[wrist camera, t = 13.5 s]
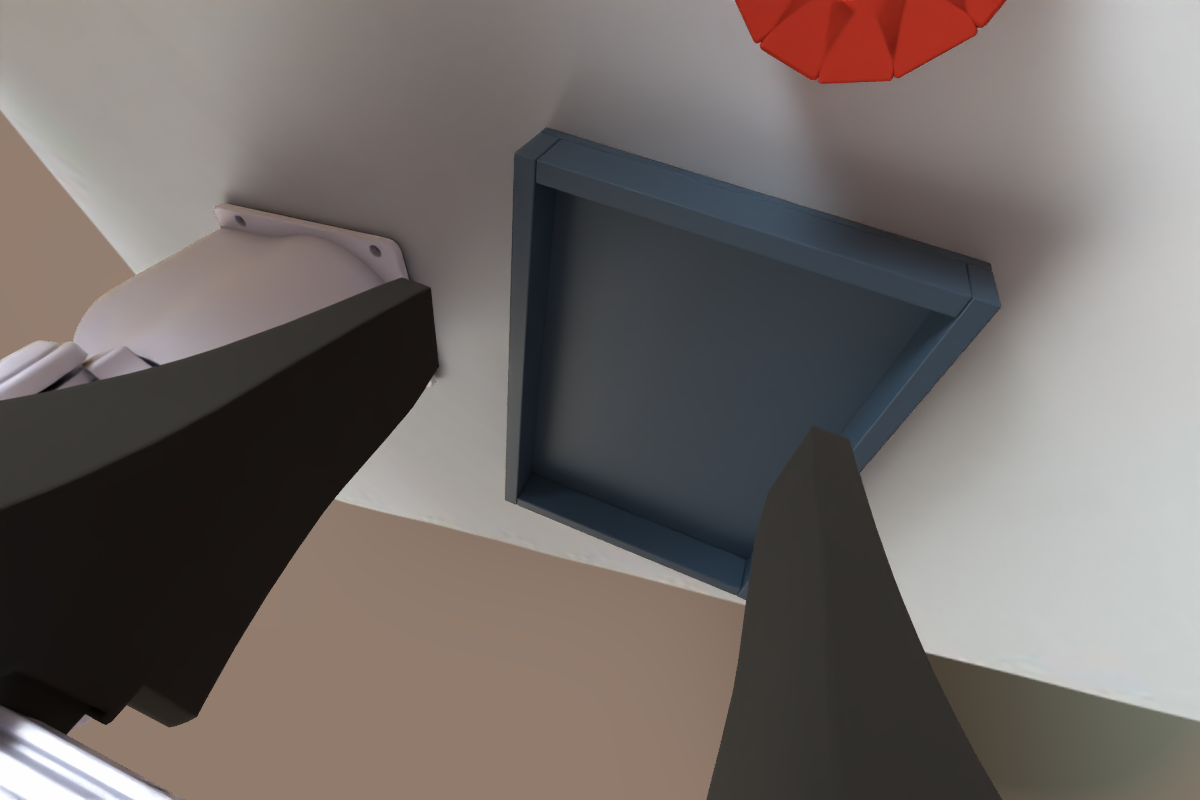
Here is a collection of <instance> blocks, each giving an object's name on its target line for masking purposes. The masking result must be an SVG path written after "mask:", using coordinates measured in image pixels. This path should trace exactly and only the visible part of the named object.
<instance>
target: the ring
mask: <svg viewBox="0 0 1200 800" xmlns="http://www.w3.org/2000/svg"><path fill="white" fill-rule="evenodd" d="M735 2H736V4H737V6H738V8H739V11H740V13H741V15H742V17H743V19H744V21H745V23H746V26H747V28H748V30H749V32H750V34H751V36H752V38H753V41H754V42H755V43H760V42H761V43H760V48H761V49H762V50H763V51H765V52H766V53H768V54H769V55H771V56H773V57H774V58H776V59H778V60H779V61H781V62H782V63H784V64H786V65H787V66H789V67H791V68H792V69H794V70H796V71H797V72H799V73H800V74H802V75H804V76H805V77H807V78H809V79H810V80H816V79H817V78H819V79H818V82H819V83H820V84H828V83H852V82H876V81H891V80H892V79H893V76H895V78H900V77H902V76H904V75H905V74H907V73H909V72H911V71H913V70H914V69H916V68H918V67H920V66H922V65H923V64H925V63H927V62H929V61H931V60H932V59H934V58H936V57H938V56H939V55H941V54H943V53H945V52H947V51H948V50H950V49H952V48H954V47H956V46H957V45H959V44H961V43H963V42H965V41H966V40H968V39H970V38H972V37H974V36H975V35H976V34H977V32H978V30H977V28H982V27H984V26H985V25H987V23H988V22H989V21H990V20H991V19H992V17H993V16H994V15H995V14H996V13H997V11H998V10H999V9H1000V8H1001V6H1002V5H1003V4H1004V3H1005V2H1006V0H735Z"/></svg>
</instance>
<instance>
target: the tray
mask: <svg viewBox="0 0 1200 800" xmlns="http://www.w3.org/2000/svg"><path fill="white" fill-rule="evenodd" d="M1000 308H1001V303H1000V299H999V295H998V292H997V288H996V284H995V280H994V276H993V272H992V268H991V264H990V263H987V262H983V261H980V260H977V259H974V258H970V257H967V256H964V255H961V254H957V253H954V252H951V251H948V250H944V249H941V248H938V247H934V246H931V245H928V244H925V243H921V242H918V241H915V240H912V239H908V238H905V237H902V236H899V235H895V234H892V233H889V232H885V231H882V230H879V229H876V228H872V227H869V226H866V225H863V224H859V223H856V222H853V221H849V220H846V219H843V218H840V217H836V216H833V215H830V214H827V213H823V212H820V211H817V210H814V209H810V208H807V207H804V206H800V205H797V204H794V203H791V202H787V201H784V200H781V199H778V198H774V197H771V196H768V195H765V194H761V193H758V192H755V191H751V190H748V189H745V188H742V187H738V186H735V185H732V184H729V183H725V182H722V181H719V180H715V179H712V178H709V177H706V176H702V175H699V174H696V173H693V172H689V171H686V170H683V169H680V168H676V167H673V166H670V165H666V164H663V163H660V162H657V161H653V160H650V159H647V158H644V157H640V156H637V155H634V154H631V153H627V152H624V151H621V150H617V149H614V148H611V147H608V146H604V145H601V144H598V143H595V142H591V141H588V140H585V139H582V138H578V137H575V136H572V135H568V134H565V133H562V132H559V131H555V130H552V129H549V128H545V129H543V130H542V131H541V133H539V134H538V135H536V136H535V137H534V138H533V139H531V140H530V141H529V142H528V143H526V144H525V145H524V146H523V147H521V148H520V149H519V150H518V151H516V152H515V154H514V185H513V222H512V259H511V297H510V334H509V371H508V408H507V445H506V483H505V500H506V501H509V502H511V503H513V504H517V505H518V506H521V507H523V508H526V509H528V510H531V511H533V512H535V513H538V514H540V515H543V516H545V517H547V518H550V519H552V520H555V521H557V522H560V523H562V524H564V525H567V526H569V527H572V528H574V529H576V530H579V531H581V532H584V533H586V534H589V535H591V536H593V537H596V538H598V539H601V540H603V541H605V542H608V543H610V544H613V545H615V546H618V547H620V548H622V549H625V550H627V551H630V552H632V553H634V554H637V555H639V556H642V557H644V558H647V559H649V560H651V561H654V562H656V563H659V564H661V565H664V566H666V567H668V568H671V569H673V570H676V571H678V572H680V573H683V574H685V575H688V576H690V577H693V578H695V579H697V580H700V581H702V582H705V583H707V584H709V585H712V586H714V587H717V588H719V589H722V590H724V591H726V592H729V593H731V594H734V595H737V596H738V597H740V598H743V599H745V600H746V599H747V591H748V584H749V577H750V570H751V562H752V555H753V548H754V543H755V539H756V535H757V531H758V527H759V523H760V519H761V515H762V512H763V508H764V504H765V501H766V497H767V493H768V492H769V490H770V489H771V487H772V486H773V484H774V483H775V481H776V480H777V478H778V477H779V475H780V474H781V472H782V471H783V469H784V468H785V466H786V465H787V463H788V462H789V460H790V459H791V457H792V456H793V454H794V453H795V451H796V450H797V448H798V447H799V445H800V444H801V442H802V441H803V439H804V438H805V436H806V435H807V433H808V432H809V430H810V429H811V427H812V426H815V427H817V428H820V429H823V430H826V431H828V432H831V433H834V434H837V435H840V436H842V437H845V438H848V439H849V440H850V443H851V445H852V448H853V452H854V455H855V459H856V462H857V466H858V469H859V473H860V472H861V471H862V469H863V468H864V467H865V466H866V465H867V464H868V462H869V461H870V460H871V459H872V458H873V457H874V455H875V454H876V453H877V452H878V451H879V450H880V448H881V447H882V446H883V445H884V444H885V443H886V441H887V440H888V439H889V438H890V437H891V436H892V434H893V433H894V432H895V431H896V430H897V428H898V427H899V426H900V425H901V424H902V423H903V421H904V420H905V419H906V418H907V417H908V416H909V414H910V413H911V412H912V411H913V410H914V409H915V407H916V406H917V405H918V404H919V403H920V402H921V400H922V399H923V398H924V397H925V396H926V395H927V393H928V392H929V391H930V390H931V389H932V387H933V386H934V385H935V384H936V383H937V382H938V380H939V379H940V378H941V377H942V376H943V375H944V373H945V372H946V371H947V370H948V369H949V368H950V366H951V365H952V364H953V363H954V362H955V361H956V359H957V358H958V357H959V356H960V355H961V353H962V352H963V351H964V350H965V349H966V348H967V346H968V345H969V344H970V343H971V342H972V341H973V339H974V338H975V337H976V336H977V335H978V334H979V332H980V331H981V330H982V329H983V328H984V327H985V325H986V324H987V323H988V322H989V321H990V320H991V318H992V317H993V316H994V315H995V314H996V312H997V311H998V310H999V309H1000Z"/></svg>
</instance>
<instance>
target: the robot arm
mask: <svg viewBox="0 0 1200 800" xmlns="http://www.w3.org/2000/svg"><path fill="white" fill-rule="evenodd" d="M214 214H215V217H216V218H217V220H218V222H219V224H220V226H221V228H220V229H218V230H216V231H215V232H213V233H211V234H209V235H207V236H206V237H204V238H202V239H200V240H198V241H197V242H195V243H193V244H191V245H189V246H188V247H186V248H184V249H182V250H180V251H179V252H177V253H175V254H173V255H171V256H170V257H168V258H166V259H164V260H162V261H161V262H159V263H157V264H155V265H154V266H152V267H150V268H148V269H146V270H145V271H143V272H141V273H139V274H137V275H136V276H134V277H132V278H130V279H128V280H127V281H125V282H123V283H121V284H119V285H118V286H116V287H114V288H112V289H111V290H109V291H108V292H106V293H105V294H103V295H102V296H101V297H99V298H98V299H97V300H96V301H95V302H94V303H93V304H92V305H91V307H90V308H89V309H88V310H87V312H86V313H85V314H84V316H83V318H82V320H81V321H80V323H79V325H78V328H77V330H76V333H75V336H74V340H73V342H66V343H63V344H59V343H57V342H49V341H35V342H33V343H31V344H29V345H27V346H25V347H24V348H22V349H20V350H18V351H16V352H14V353H13V354H11V355H9V356H7V357H5V358H3V359H1V360H0V800H184V799H182V798H181V797H179V796H177V795H175V794H173V793H171V792H170V791H168V790H166V789H164V788H162V787H160V786H159V785H157V784H155V783H153V782H151V781H149V780H148V779H146V778H144V777H142V776H140V775H139V774H137V773H135V772H133V771H131V770H129V769H128V768H126V767H124V766H122V765H120V764H118V763H117V762H115V761H113V760H111V759H109V758H107V757H106V756H104V755H102V754H100V753H98V752H96V751H95V750H93V749H91V748H89V747H87V746H85V745H83V744H82V743H80V742H78V741H76V740H74V739H73V738H71V737H69V736H67V735H66V734H67V733H68V732H69V731H70V730H71V729H73V728H76V727H79V726H82V725H85V724H87V723H88V722H89V721H90V720H91V719H92V718H93V719H95V720H97V721H99V722H101V723H103V724H105V725H106V724H108V723H110V722H112V721H113V720H114V718H115V717H116V716H117V715H118V714H119V713H120V712H121V711H122V710H123V708H124V707H125V706H126V705H128V706H129V707H132V708H133V709H135V710H137V711H139V712H141V713H143V714H145V715H147V716H149V717H150V718H152V719H154V720H156V721H158V722H160V723H162V724H164V725H166V726H167V727H173V726H177V725H180V724H183V723H185V722H188V721H190V720H192V719H194V718H195V717H197V716H198V714H199V712H200V710H201V708H202V706H203V704H204V702H205V700H206V699H207V697H208V695H209V693H210V691H211V690H212V688H213V686H214V684H215V683H216V681H217V679H218V677H219V675H220V674H221V672H222V670H223V668H224V667H225V664H226V663H227V661H228V659H229V658H230V656H231V654H232V652H233V651H234V649H235V647H236V645H237V644H238V642H239V640H240V639H241V637H242V636H243V634H244V632H245V631H246V629H247V627H248V626H249V624H250V622H251V621H252V619H253V618H254V616H255V614H256V613H257V611H258V609H259V608H260V606H261V605H262V603H263V601H264V600H265V598H266V596H267V595H268V593H269V592H270V590H271V589H272V587H273V586H274V584H275V583H276V581H277V580H278V578H279V577H280V575H281V574H282V572H283V571H284V569H285V568H286V566H287V564H288V563H289V561H290V560H291V558H292V557H293V555H294V554H295V552H296V551H297V550H298V548H299V546H300V545H301V544H302V542H303V541H304V540H305V538H306V537H307V535H308V534H309V532H310V531H311V529H312V528H313V526H314V525H315V524H316V522H317V521H318V520H319V518H320V517H321V515H322V514H323V512H324V511H325V510H326V509H327V507H328V506H329V505H330V504H331V502H332V501H333V500H334V499H335V497H336V496H337V495H338V494H339V492H340V491H341V490H342V489H343V488H344V487H345V485H346V484H347V483H348V482H349V481H350V480H351V479H352V477H353V476H354V475H355V474H356V473H357V472H358V470H359V469H360V468H361V467H362V466H363V465H364V464H365V462H366V461H367V460H368V459H369V458H370V457H371V456H372V454H373V453H374V452H375V451H376V450H377V449H378V448H379V446H380V445H381V444H382V443H383V442H384V441H385V439H386V438H387V437H388V436H389V435H390V434H391V433H392V431H393V430H394V429H395V428H396V427H397V425H398V424H399V423H400V422H401V421H402V420H403V418H404V417H405V416H406V415H407V414H408V412H409V411H410V410H411V409H412V408H413V406H414V405H415V403H416V402H417V400H418V399H419V397H420V396H421V394H422V393H423V391H424V390H425V388H430V387H432V386H433V385H434V384H435V382H436V377H435V372H436V371H437V369H438V367H439V363H438V353H437V344H436V334H435V324H434V315H433V305H432V295H431V288H430V287H428V286H425V285H422V284H419V283H417V282H414V281H411V280H409V278H408V274H407V270H406V267H405V263H404V259H403V256H402V252H401V250H400V247H399V246H398V245H397V243H395V242H394V241H393V240H391V239H388V238H384V237H380V236H375V235H370V234H366V233H361V232H356V231H352V230H347V229H343V228H338V227H333V226H329V225H324V224H319V223H315V222H310V221H305V220H301V219H296V218H291V217H287V216H282V215H277V214H273V213H268V212H263V211H259V210H254V209H249V208H245V207H240V206H236V205H231V204H226V203H220V204H218V205H216V206H215V207H214ZM707 800H1002V799H1001V797H1000V795H999V794H998V792H997V790H996V788H995V787H994V785H993V783H992V781H991V780H990V778H989V777H988V775H987V773H986V771H985V769H984V768H983V766H982V764H981V763H980V761H979V759H978V757H977V756H976V754H975V752H974V750H973V748H972V746H971V744H970V742H969V740H968V738H967V737H966V735H965V733H964V731H963V729H962V727H961V725H960V723H959V721H958V720H957V718H956V716H955V714H954V712H953V710H952V708H951V706H950V704H949V702H948V700H947V698H946V696H945V694H944V691H943V690H942V688H941V685H940V683H939V681H938V679H937V677H936V676H935V673H934V671H933V669H932V667H931V664H930V662H929V660H928V658H927V656H926V654H925V651H924V649H923V647H922V645H921V642H920V640H919V638H918V635H917V633H916V631H915V628H914V626H913V624H912V621H911V619H910V616H909V614H908V611H907V609H906V607H905V604H904V602H903V599H902V597H901V594H900V592H899V589H898V586H897V584H896V581H895V579H894V576H893V573H892V571H891V568H890V565H889V562H888V559H887V557H886V554H885V551H884V548H883V545H882V542H881V540H880V537H879V534H878V531H877V528H876V525H875V522H874V519H873V516H872V512H871V509H870V506H869V503H868V500H867V496H866V493H865V490H864V486H863V483H862V480H861V476H860V473H859V469H858V466H857V462H856V459H855V455H854V452H853V448H852V445H851V443H850V440H849V439H848V438H845V437H842V436H840V435H837V434H834V433H831V432H828V431H826V430H823V429H820V428H817V427H815V426H812V427H811V429H810V430H809V432H808V433H807V435H806V436H805V438H804V439H803V441H802V442H801V444H800V445H799V447H798V448H797V450H796V451H795V453H794V454H793V456H792V457H791V459H790V460H789V462H788V463H787V465H786V466H785V468H784V469H783V471H782V472H781V474H780V475H779V477H778V478H777V480H776V481H775V483H774V484H773V486H772V487H771V489H770V490H769V492H768V493H767V497H766V501H765V504H764V508H763V512H762V515H761V519H760V523H759V527H758V531H757V535H756V539H755V543H754V548H753V555H752V562H751V570H750V577H749V584H748V591H747V599H746V606H745V614H744V621H743V630H742V636H741V645H740V652H739V659H738V666H737V671H736V677H735V683H734V689H733V694H732V698H731V702H730V706H729V710H728V714H727V719H726V723H725V727H724V731H723V735H722V740H721V744H720V748H719V752H718V756H717V760H716V764H715V768H714V772H713V776H712V780H711V784H710V788H709V792H708V796H707Z"/></svg>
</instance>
